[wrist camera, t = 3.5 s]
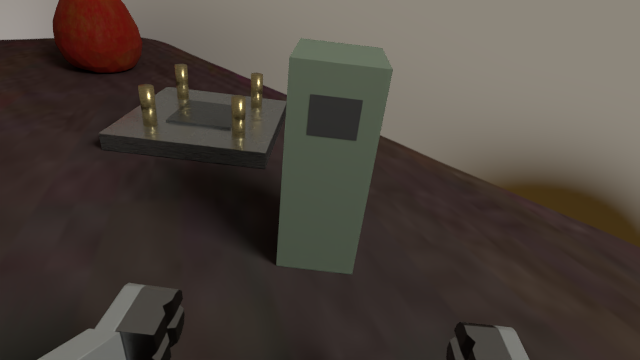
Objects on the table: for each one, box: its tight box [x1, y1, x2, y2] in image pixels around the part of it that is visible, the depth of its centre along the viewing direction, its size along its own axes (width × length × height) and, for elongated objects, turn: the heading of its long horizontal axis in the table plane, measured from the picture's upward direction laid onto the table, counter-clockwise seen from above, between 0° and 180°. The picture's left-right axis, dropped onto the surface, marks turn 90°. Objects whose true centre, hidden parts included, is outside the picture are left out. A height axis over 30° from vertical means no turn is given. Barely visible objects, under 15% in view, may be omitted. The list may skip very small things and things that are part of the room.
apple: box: [53, 0, 142, 73], centre depth 50 cm, size 10×10×10 cm
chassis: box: [99, 64, 287, 169], centre depth 37 cm, size 14×14×5 cm
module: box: [276, 38, 393, 274], centre depth 21 cm, size 4×5×12 cm
